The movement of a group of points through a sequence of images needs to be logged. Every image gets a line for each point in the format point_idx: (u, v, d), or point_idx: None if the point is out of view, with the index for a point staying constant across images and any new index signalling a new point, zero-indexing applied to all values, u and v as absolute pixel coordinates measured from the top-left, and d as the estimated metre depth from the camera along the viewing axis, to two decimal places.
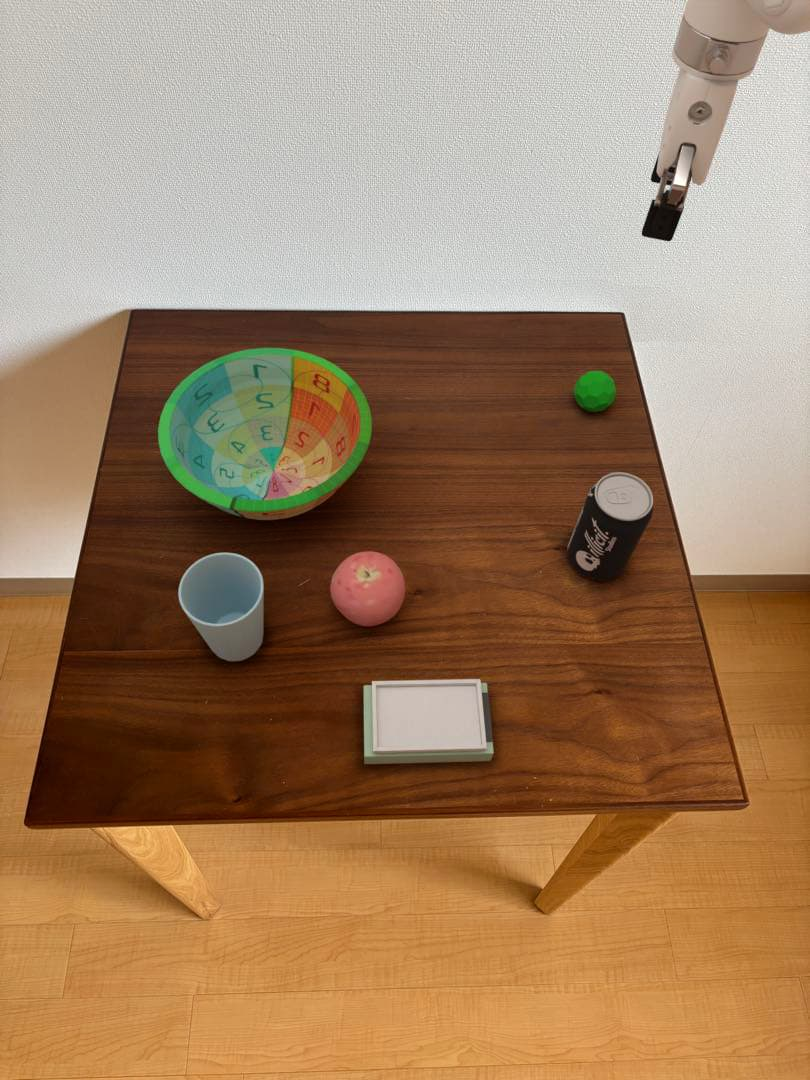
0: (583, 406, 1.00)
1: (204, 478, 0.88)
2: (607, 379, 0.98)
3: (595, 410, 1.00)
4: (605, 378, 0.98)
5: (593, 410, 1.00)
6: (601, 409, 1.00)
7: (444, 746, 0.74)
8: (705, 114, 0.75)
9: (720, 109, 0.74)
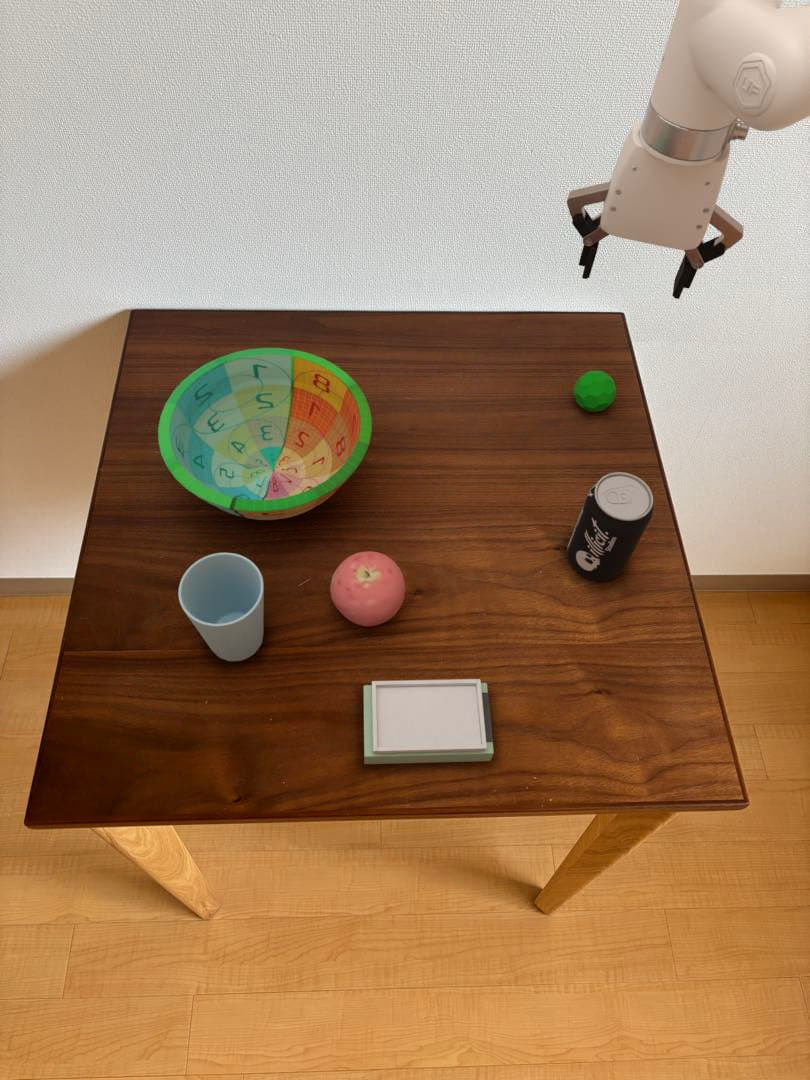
0: (583, 406, 1.00)
1: (204, 478, 0.88)
2: (607, 379, 0.98)
3: (595, 410, 1.00)
4: (605, 378, 0.98)
5: (593, 410, 1.00)
6: (601, 409, 1.00)
7: (444, 746, 0.74)
8: None
9: None
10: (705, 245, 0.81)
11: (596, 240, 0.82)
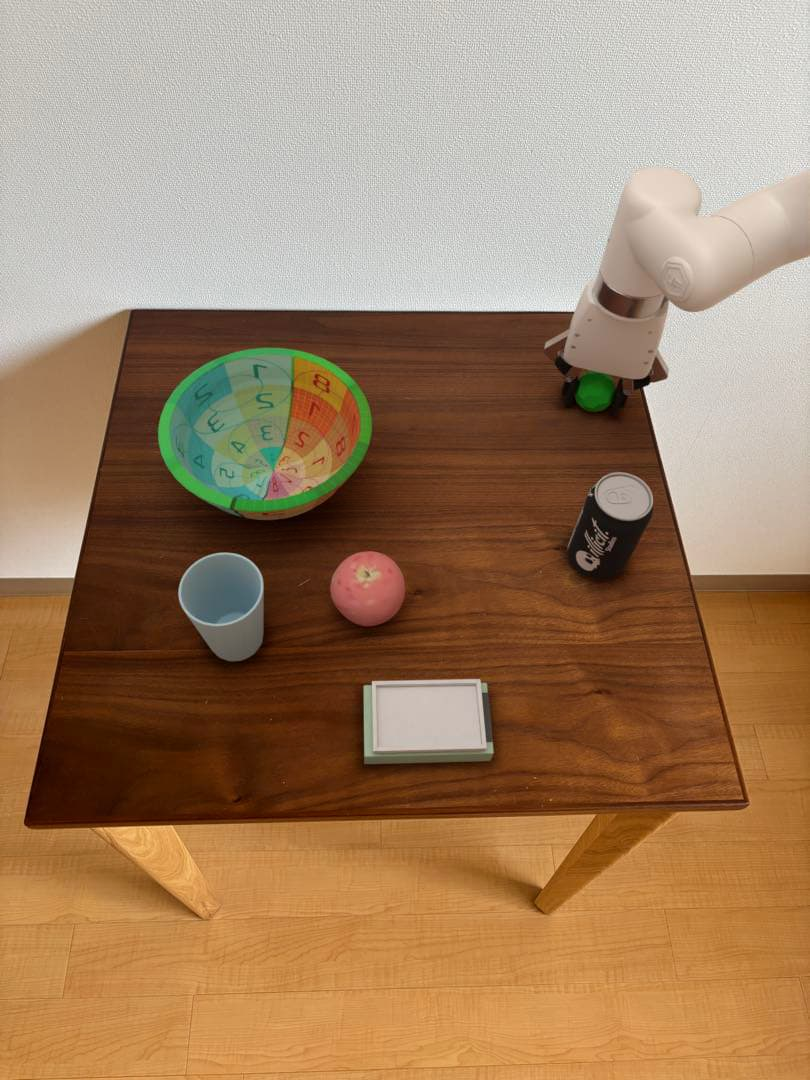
0: (583, 406, 1.00)
1: (204, 478, 0.88)
2: (607, 379, 0.98)
3: (595, 410, 1.00)
4: (605, 378, 0.98)
5: (593, 410, 1.00)
6: (601, 409, 1.00)
7: (444, 746, 0.74)
8: None
9: None
10: None
11: (575, 378, 0.97)
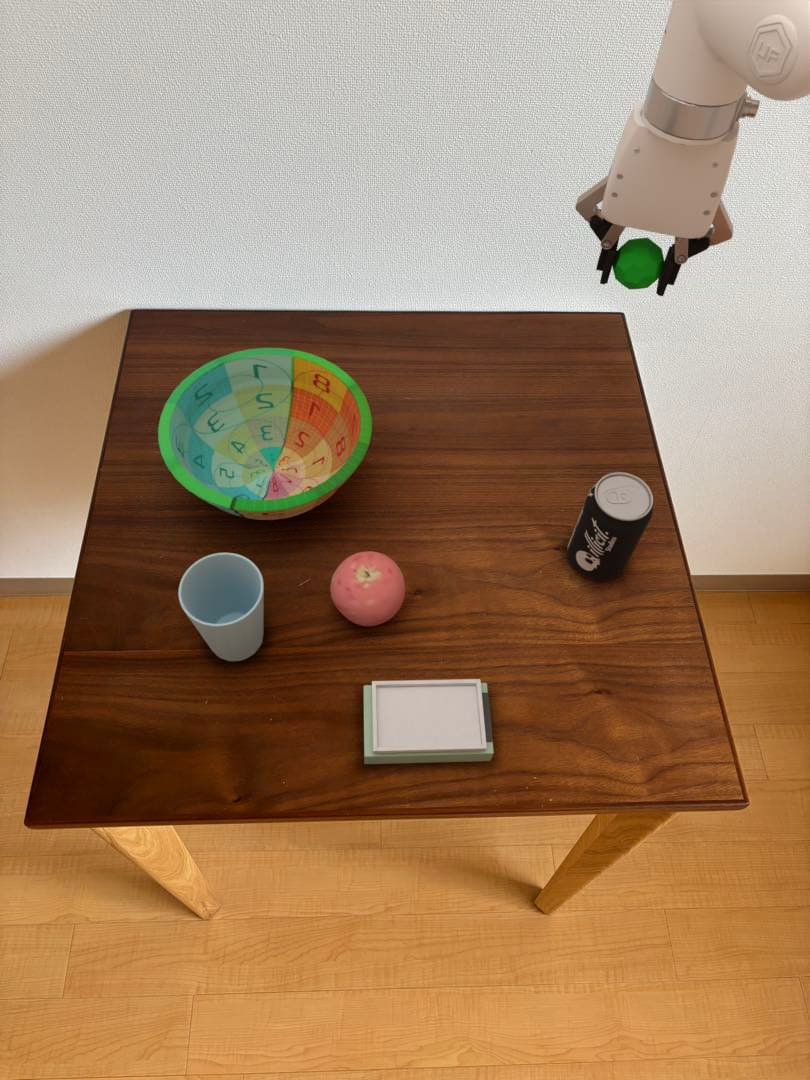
0: (624, 282, 0.81)
1: (204, 478, 0.88)
2: (654, 245, 0.79)
3: (639, 286, 0.81)
4: (652, 244, 0.79)
5: (636, 286, 0.81)
6: (646, 285, 0.81)
7: (444, 746, 0.74)
8: None
9: None
10: (689, 239, 0.78)
11: (615, 243, 0.78)
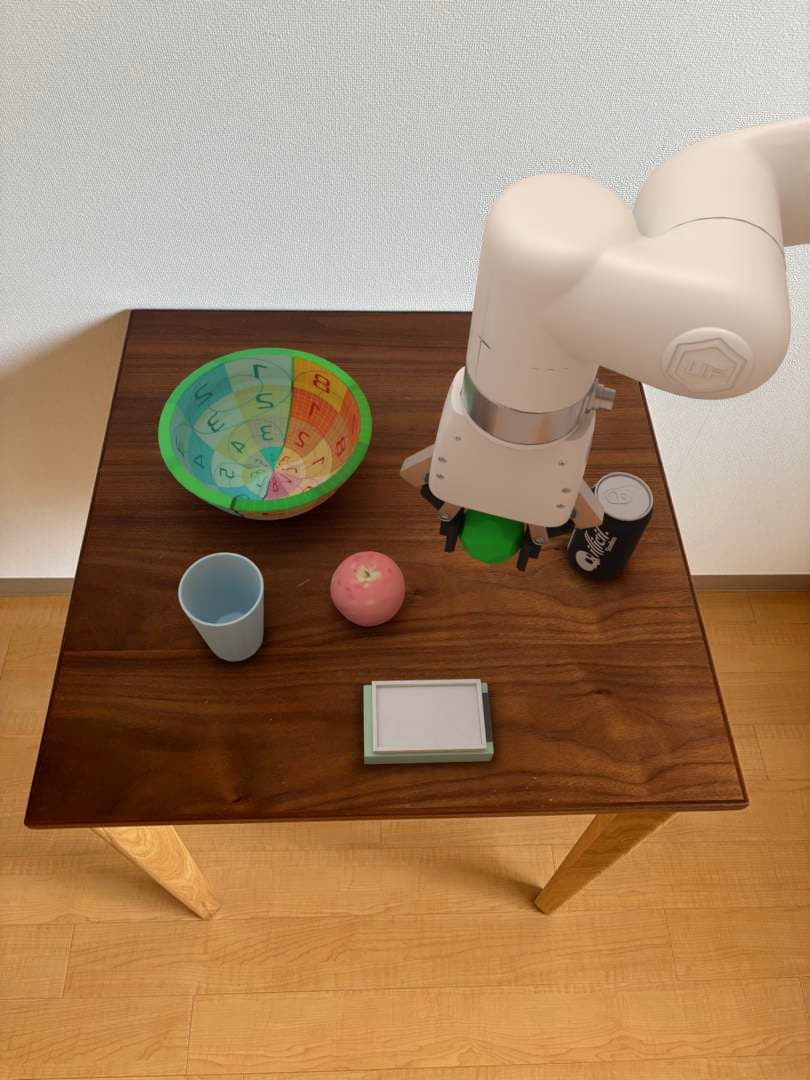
0: (472, 556, 0.62)
1: (204, 478, 0.88)
2: None
3: (491, 563, 0.62)
4: None
5: (488, 563, 0.62)
6: (501, 561, 0.62)
7: (444, 746, 0.74)
8: None
9: None
10: None
11: (454, 517, 0.60)
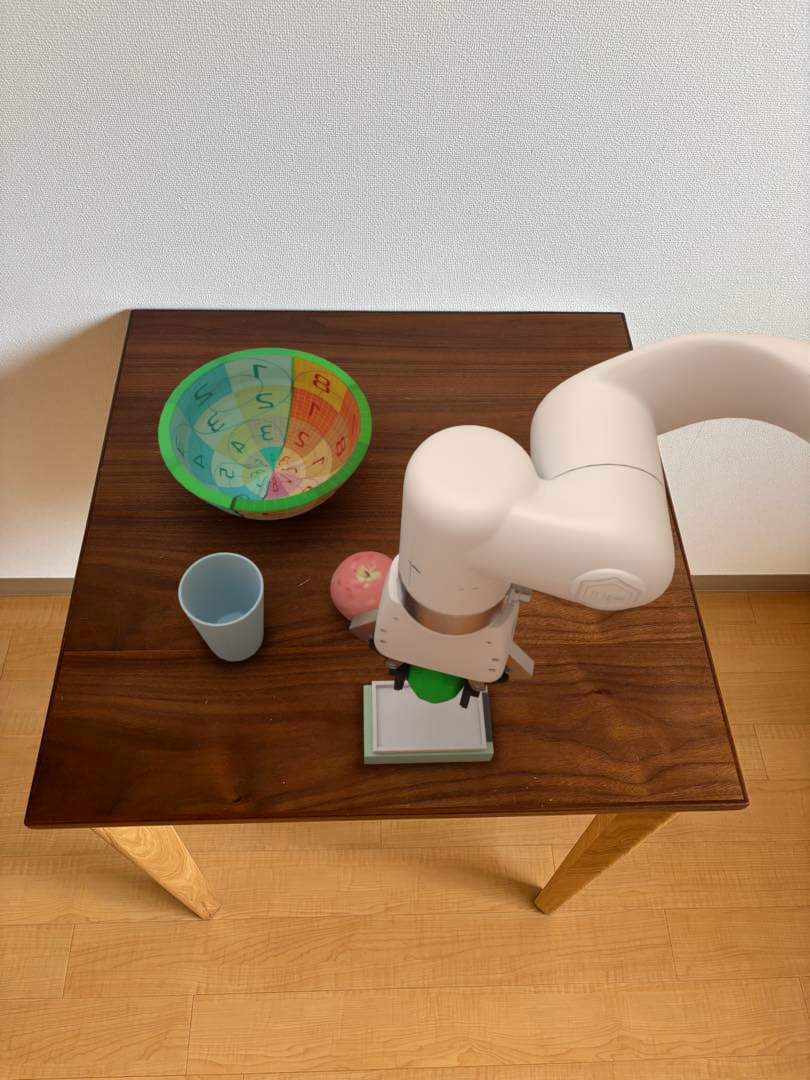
0: (418, 697, 0.68)
1: (204, 478, 0.88)
2: None
3: (436, 703, 0.67)
4: None
5: (433, 702, 0.68)
6: (444, 701, 0.68)
7: (444, 746, 0.74)
8: None
9: None
10: None
11: (400, 666, 0.65)
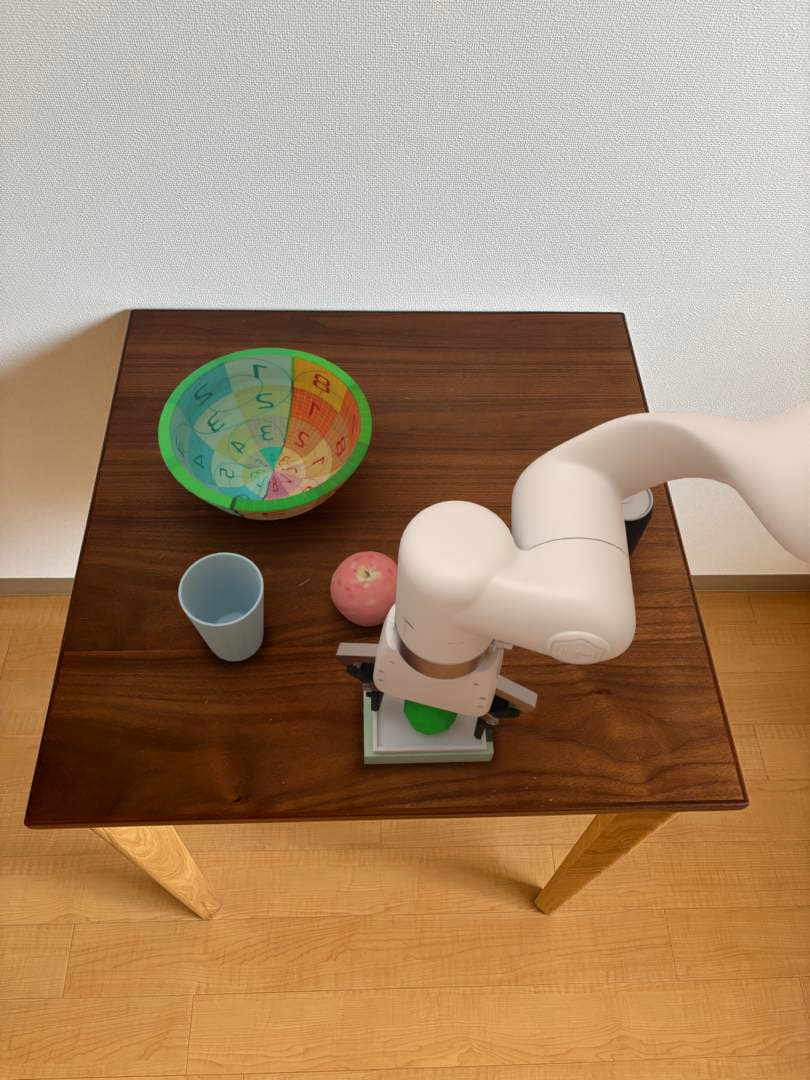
0: (414, 728, 0.74)
1: (204, 478, 0.88)
2: None
3: (430, 734, 0.74)
4: None
5: None
6: (438, 732, 0.74)
7: (444, 746, 0.74)
8: None
9: None
10: (500, 701, 0.70)
11: (375, 690, 0.71)
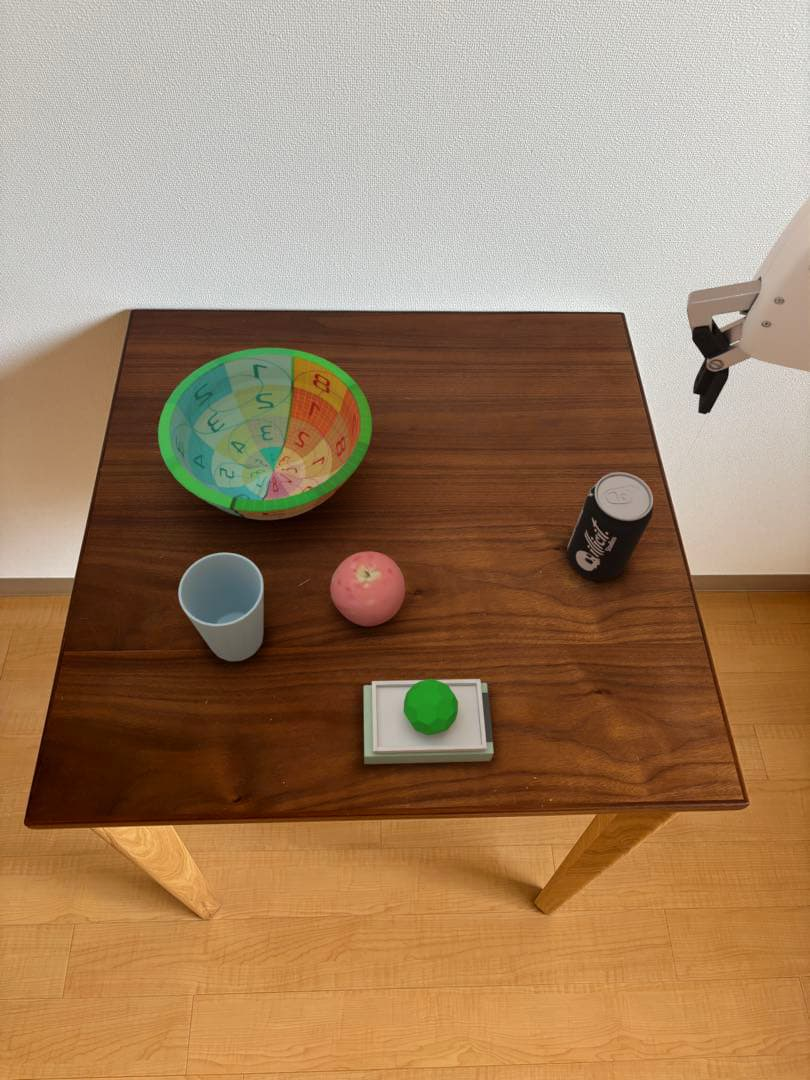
0: (414, 728, 0.74)
1: (204, 478, 0.88)
2: (443, 699, 0.72)
3: (430, 734, 0.74)
4: (440, 698, 0.72)
5: None
6: (438, 732, 0.74)
7: (444, 746, 0.74)
8: None
9: None
10: None
11: (728, 364, 0.54)
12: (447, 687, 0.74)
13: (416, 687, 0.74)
